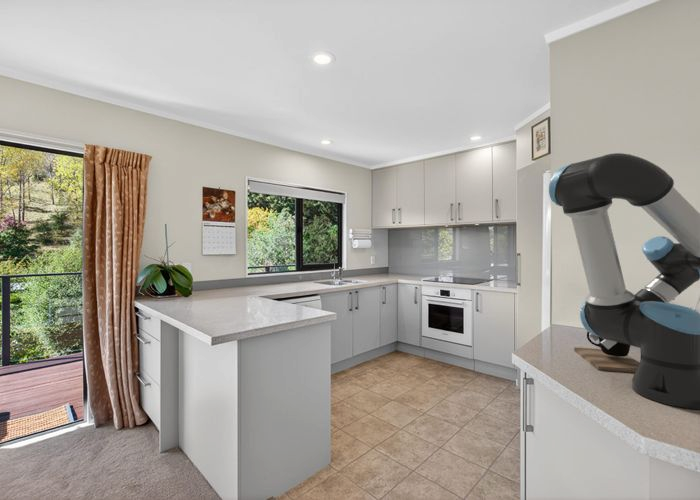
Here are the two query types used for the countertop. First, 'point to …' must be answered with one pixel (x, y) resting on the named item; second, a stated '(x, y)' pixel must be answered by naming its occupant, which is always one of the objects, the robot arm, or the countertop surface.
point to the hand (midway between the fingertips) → (597, 341)
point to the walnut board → (607, 360)
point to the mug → (612, 348)
